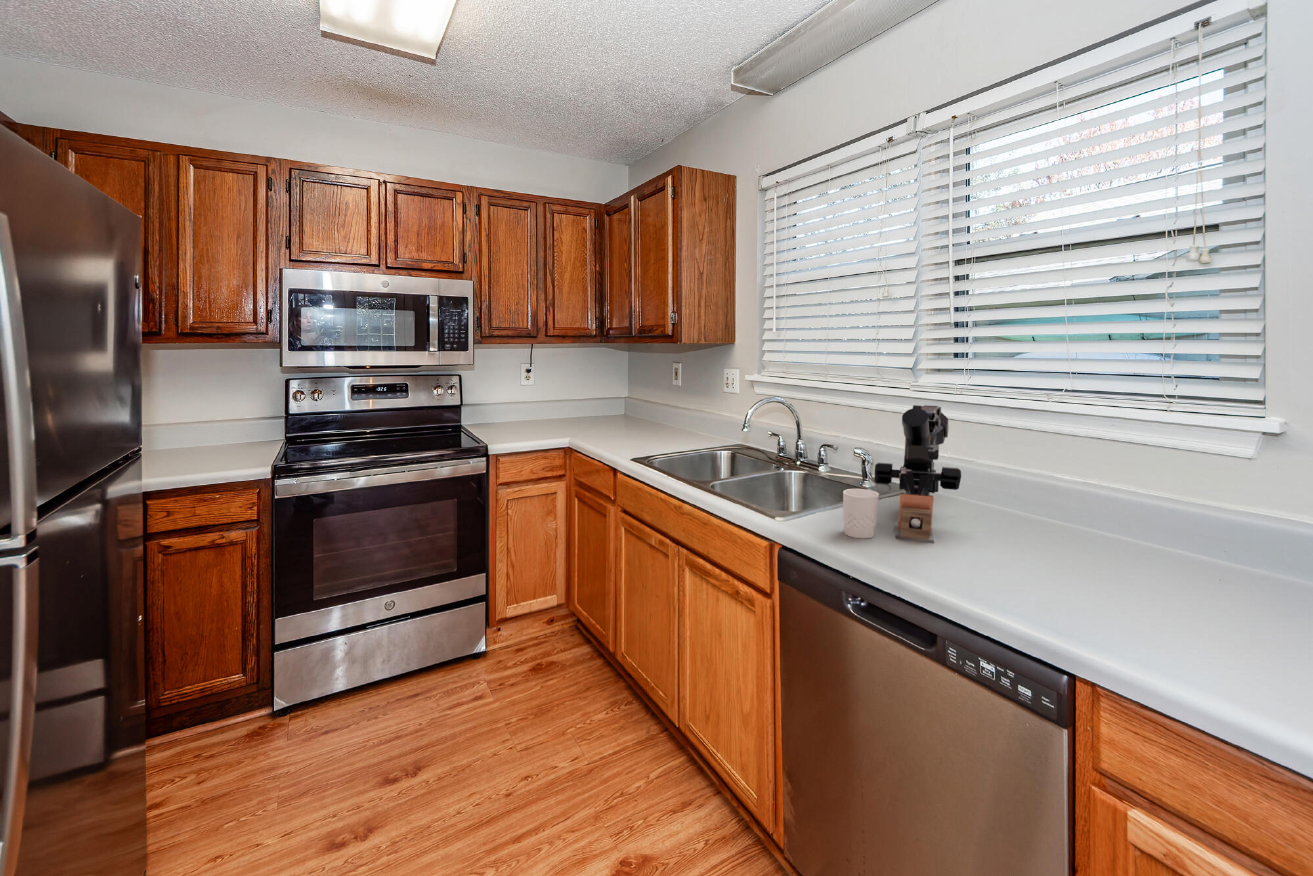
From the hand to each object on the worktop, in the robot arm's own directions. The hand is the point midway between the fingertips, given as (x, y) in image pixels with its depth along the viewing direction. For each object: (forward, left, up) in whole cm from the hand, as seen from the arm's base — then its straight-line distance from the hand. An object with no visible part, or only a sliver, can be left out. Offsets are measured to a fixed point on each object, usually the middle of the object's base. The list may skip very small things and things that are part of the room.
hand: (915, 506), depth 135 cm
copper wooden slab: (+3, 0, -6) cm, 6 cm away
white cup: (+5, -12, -7) cm, 15 cm away
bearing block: (0, 0, -7) cm, 7 cm away
